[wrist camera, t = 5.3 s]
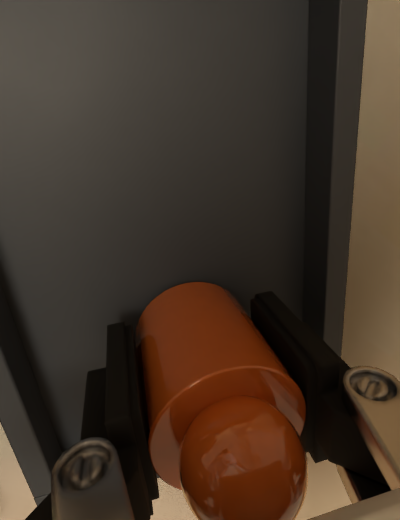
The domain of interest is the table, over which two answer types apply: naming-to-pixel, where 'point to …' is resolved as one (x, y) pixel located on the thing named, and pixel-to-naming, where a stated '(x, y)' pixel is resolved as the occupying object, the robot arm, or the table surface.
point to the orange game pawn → (220, 407)
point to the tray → (163, 179)
